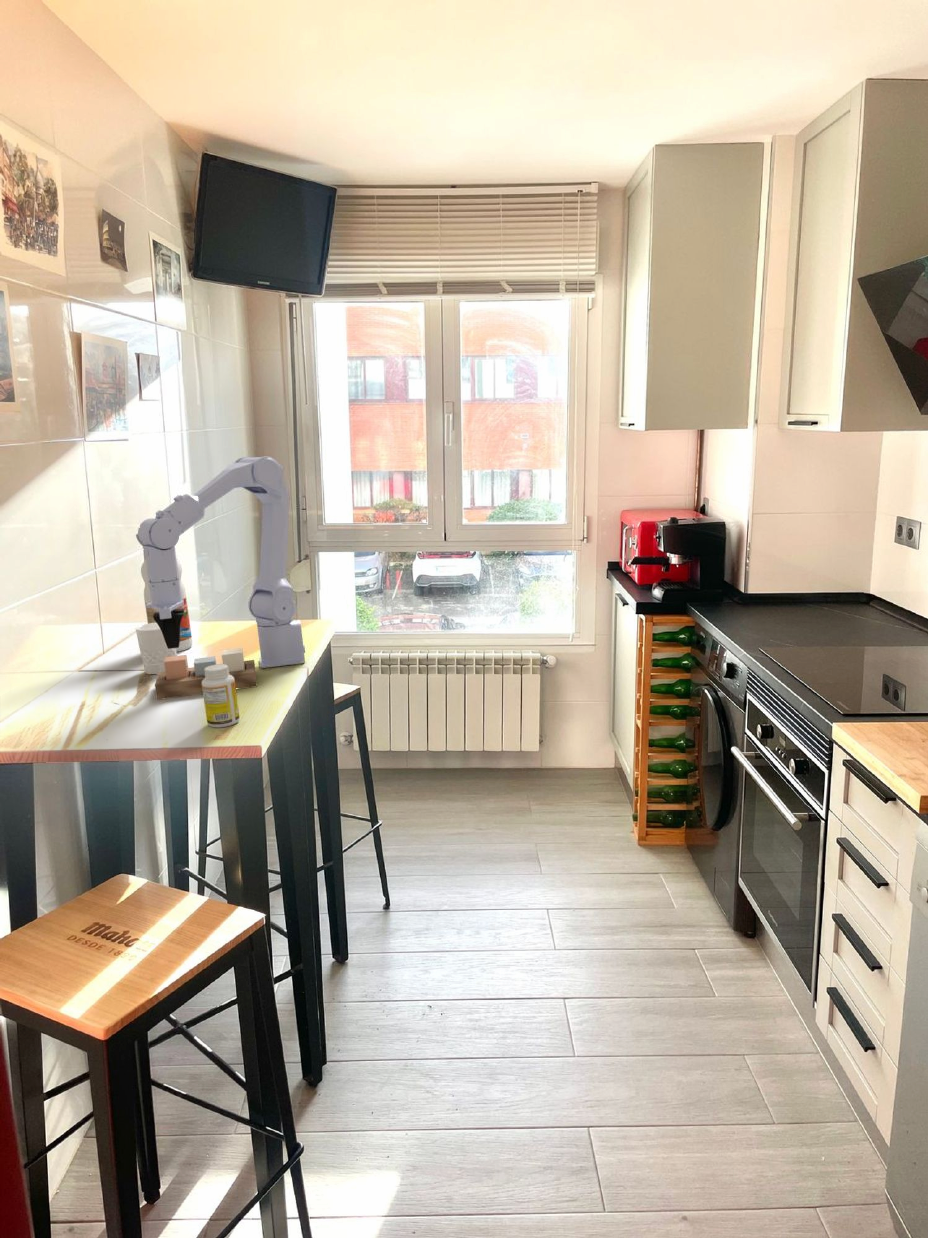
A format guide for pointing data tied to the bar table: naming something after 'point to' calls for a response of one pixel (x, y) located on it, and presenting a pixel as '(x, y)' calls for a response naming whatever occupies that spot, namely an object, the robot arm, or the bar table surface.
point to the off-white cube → (233, 659)
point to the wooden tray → (200, 682)
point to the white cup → (153, 648)
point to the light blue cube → (203, 664)
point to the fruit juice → (185, 623)
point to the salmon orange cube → (176, 667)
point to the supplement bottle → (220, 696)
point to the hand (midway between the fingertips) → (173, 647)
